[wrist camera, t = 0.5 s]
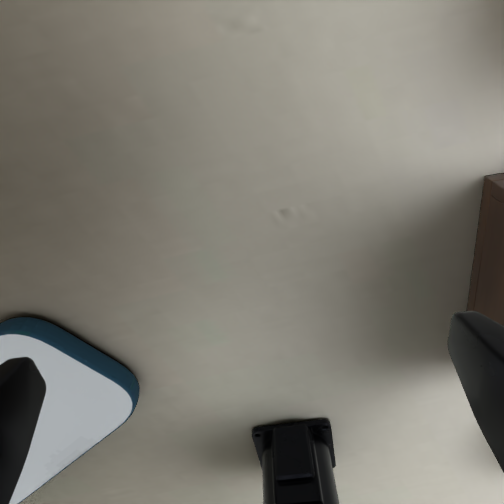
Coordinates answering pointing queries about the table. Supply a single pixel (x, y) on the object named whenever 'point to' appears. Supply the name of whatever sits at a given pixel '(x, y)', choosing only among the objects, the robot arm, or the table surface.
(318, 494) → the robot arm
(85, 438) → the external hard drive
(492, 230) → the toy box
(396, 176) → the table surface
